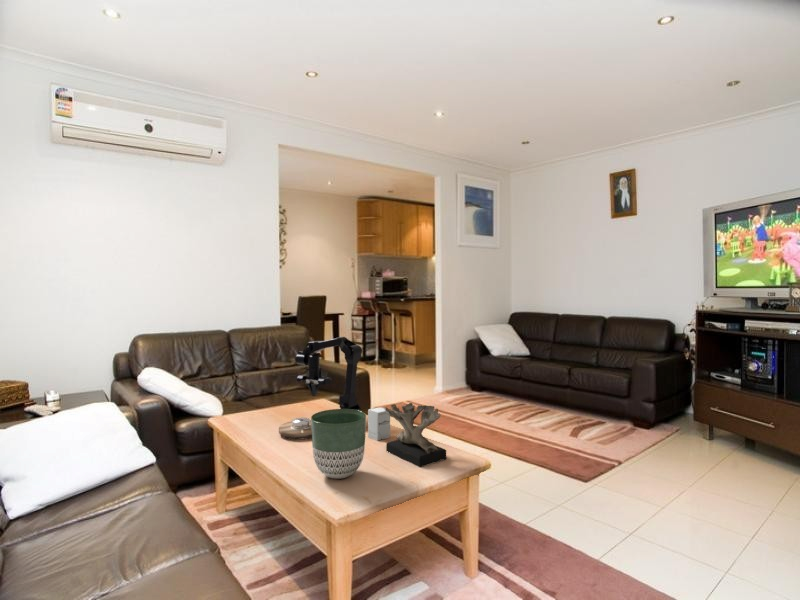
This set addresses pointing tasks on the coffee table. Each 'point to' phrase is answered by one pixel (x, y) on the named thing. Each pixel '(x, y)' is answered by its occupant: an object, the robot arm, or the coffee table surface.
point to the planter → (338, 441)
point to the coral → (415, 436)
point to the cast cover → (300, 423)
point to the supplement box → (378, 424)
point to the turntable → (294, 430)
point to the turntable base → (298, 437)
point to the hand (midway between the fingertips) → (314, 396)
